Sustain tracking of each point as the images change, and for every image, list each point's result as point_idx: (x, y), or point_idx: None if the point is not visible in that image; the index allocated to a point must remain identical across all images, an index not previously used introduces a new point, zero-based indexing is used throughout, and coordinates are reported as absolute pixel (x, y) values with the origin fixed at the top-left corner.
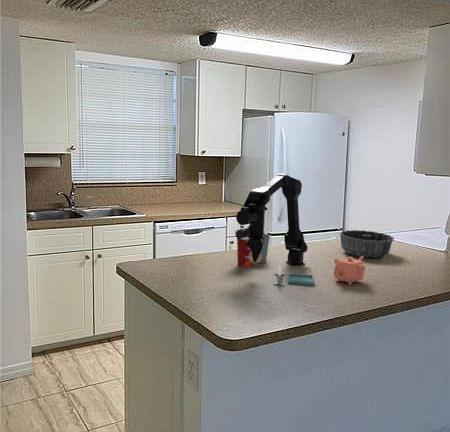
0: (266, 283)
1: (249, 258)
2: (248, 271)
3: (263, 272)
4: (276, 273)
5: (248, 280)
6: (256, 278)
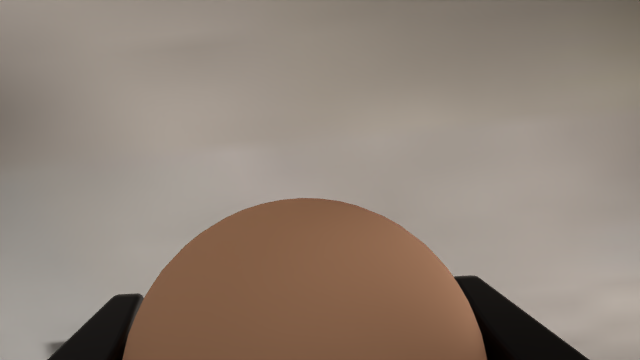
0: (100, 274)
1: (251, 213)
2: (622, 5)
3: (568, 203)
4: None
5: (134, 53)
6: (275, 150)
